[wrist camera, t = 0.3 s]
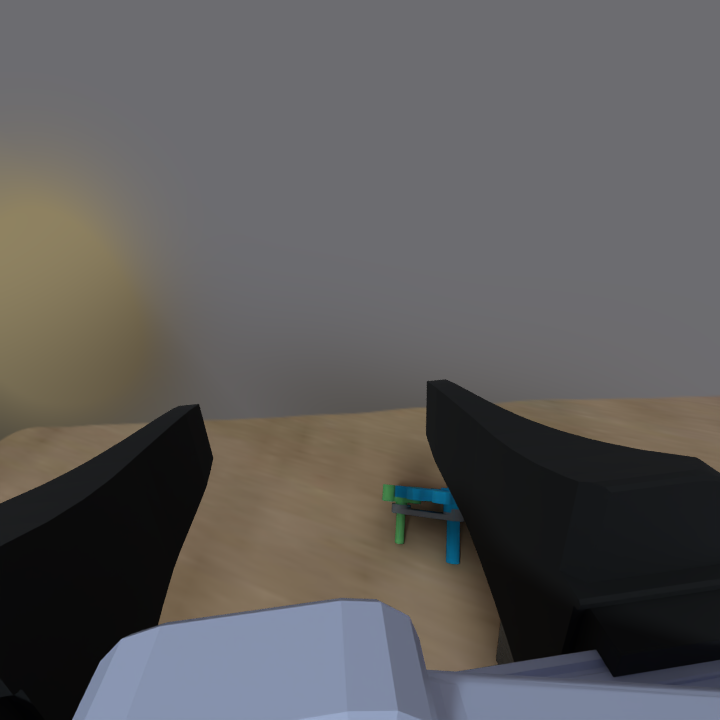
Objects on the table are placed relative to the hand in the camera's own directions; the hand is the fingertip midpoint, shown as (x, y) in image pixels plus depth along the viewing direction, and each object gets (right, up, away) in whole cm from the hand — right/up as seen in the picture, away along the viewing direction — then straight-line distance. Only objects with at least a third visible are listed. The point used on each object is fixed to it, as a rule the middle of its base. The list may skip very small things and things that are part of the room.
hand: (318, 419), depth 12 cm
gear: (+9, -13, +21) cm, 26 cm away
